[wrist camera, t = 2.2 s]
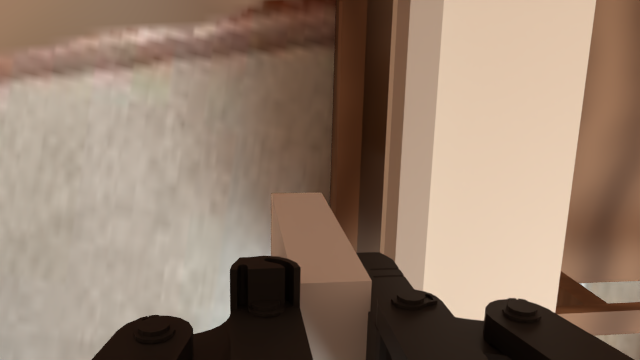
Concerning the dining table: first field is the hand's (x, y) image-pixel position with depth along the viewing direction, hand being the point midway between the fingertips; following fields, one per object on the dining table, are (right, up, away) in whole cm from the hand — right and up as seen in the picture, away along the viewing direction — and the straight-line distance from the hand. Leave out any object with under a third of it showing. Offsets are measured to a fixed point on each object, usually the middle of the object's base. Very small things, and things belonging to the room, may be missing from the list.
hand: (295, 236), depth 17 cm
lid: (+9, +3, +13) cm, 16 cm away
